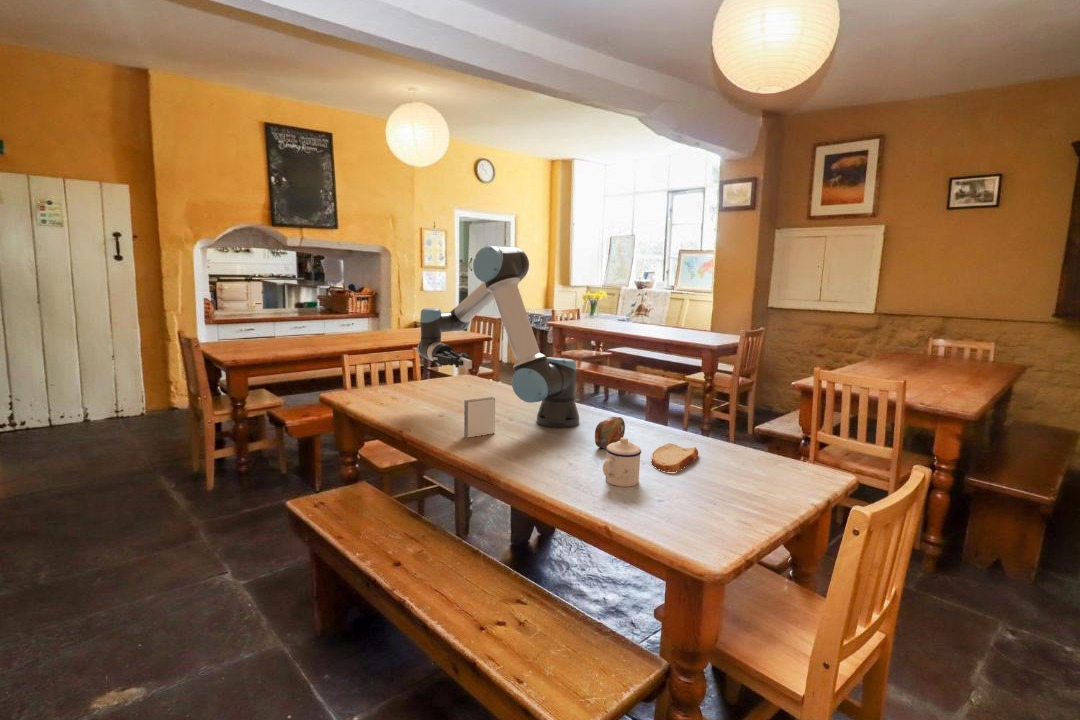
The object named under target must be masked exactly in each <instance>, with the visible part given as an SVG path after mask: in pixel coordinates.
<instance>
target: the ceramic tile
mask: <svg viewBox="0 0 1080 720" xmlns="http://www.w3.org/2000/svg"><path fill="white" fill-rule="evenodd" d="M463 407H464V408H463V409H464V410H463V411H464V415H463V417H464V421H463V424H464V436H465V438H466V439H469V437H471V438H476V437H475V436H477V437H482V436H481V435H483V436H488V435H487V434H489V435H493V433H496V432H495V431H496V430H495V428H496V426H495V425H496V424H495V423H496V421H495V420H496V418H495V417H496V398H495V397H493V396H488V397H481V398H480V397H478V398H472V399H464V406H463Z"/></svg>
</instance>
